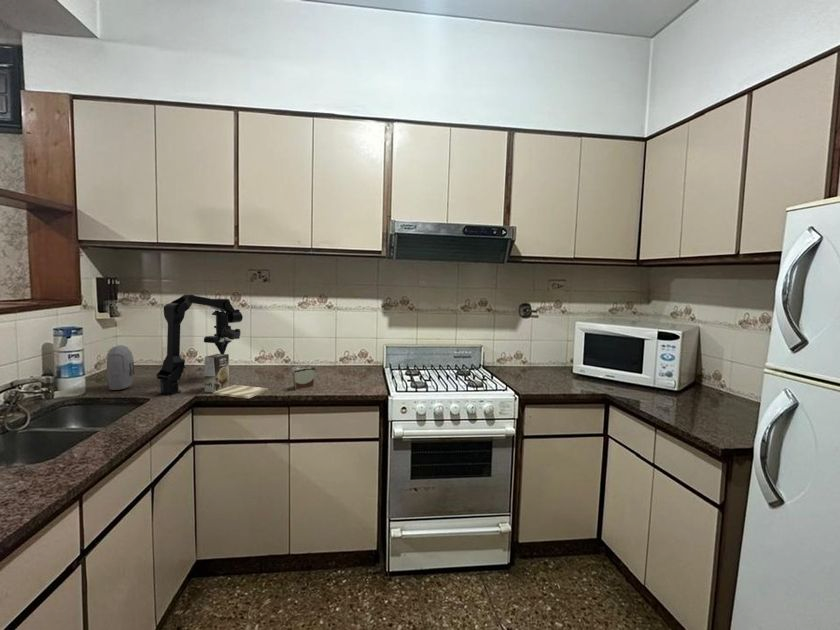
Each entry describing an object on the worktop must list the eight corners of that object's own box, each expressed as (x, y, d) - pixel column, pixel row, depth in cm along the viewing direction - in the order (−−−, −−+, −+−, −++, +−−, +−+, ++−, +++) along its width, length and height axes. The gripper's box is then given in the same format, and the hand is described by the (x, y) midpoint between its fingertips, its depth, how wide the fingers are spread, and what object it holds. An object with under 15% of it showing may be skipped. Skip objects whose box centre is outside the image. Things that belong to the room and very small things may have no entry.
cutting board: (213, 394, 187) (213, 392, 187) (234, 386, 200) (234, 384, 200) (248, 398, 182) (248, 396, 182) (267, 390, 196) (267, 388, 196)
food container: (309, 383, 210) (309, 364, 209) (316, 386, 206) (316, 366, 205) (286, 387, 201) (286, 367, 200) (292, 390, 197) (292, 369, 196)
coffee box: (216, 392, 190) (216, 357, 188) (204, 391, 191) (203, 356, 190) (229, 387, 199) (229, 354, 197) (217, 386, 200) (217, 353, 198)
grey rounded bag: (119, 384, 199) (118, 342, 197) (139, 383, 201) (138, 342, 199) (105, 393, 184) (103, 348, 183) (126, 392, 186) (125, 347, 185)
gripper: (222, 326, 199) (222, 359, 201) (248, 323, 217) (248, 353, 218) (202, 325, 202) (203, 357, 204) (230, 321, 220) (230, 351, 221)
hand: (222, 354), depth 212 cm, fingers closed
